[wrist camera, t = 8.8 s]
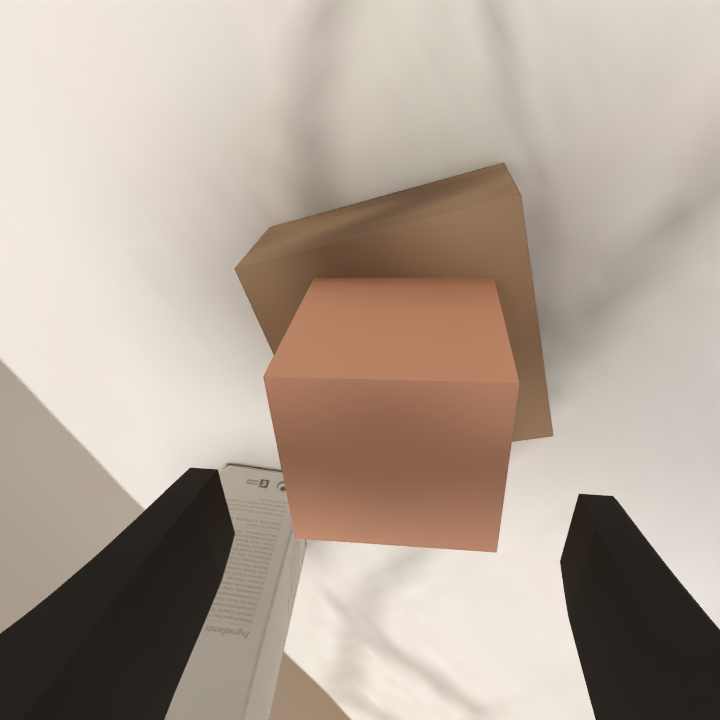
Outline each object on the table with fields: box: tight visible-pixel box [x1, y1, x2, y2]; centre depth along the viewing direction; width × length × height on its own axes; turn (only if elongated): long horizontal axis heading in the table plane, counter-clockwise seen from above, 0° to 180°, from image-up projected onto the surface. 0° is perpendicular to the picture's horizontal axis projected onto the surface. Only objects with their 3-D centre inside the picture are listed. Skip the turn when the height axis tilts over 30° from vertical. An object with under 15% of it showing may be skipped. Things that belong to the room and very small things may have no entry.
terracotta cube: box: [264, 277, 519, 552], centre depth 13 cm, size 5×5×5 cm
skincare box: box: [165, 465, 305, 720], centre depth 21 cm, size 6×4×12 cm
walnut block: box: [235, 163, 553, 442], centre depth 17 cm, size 8×8×4 cm
